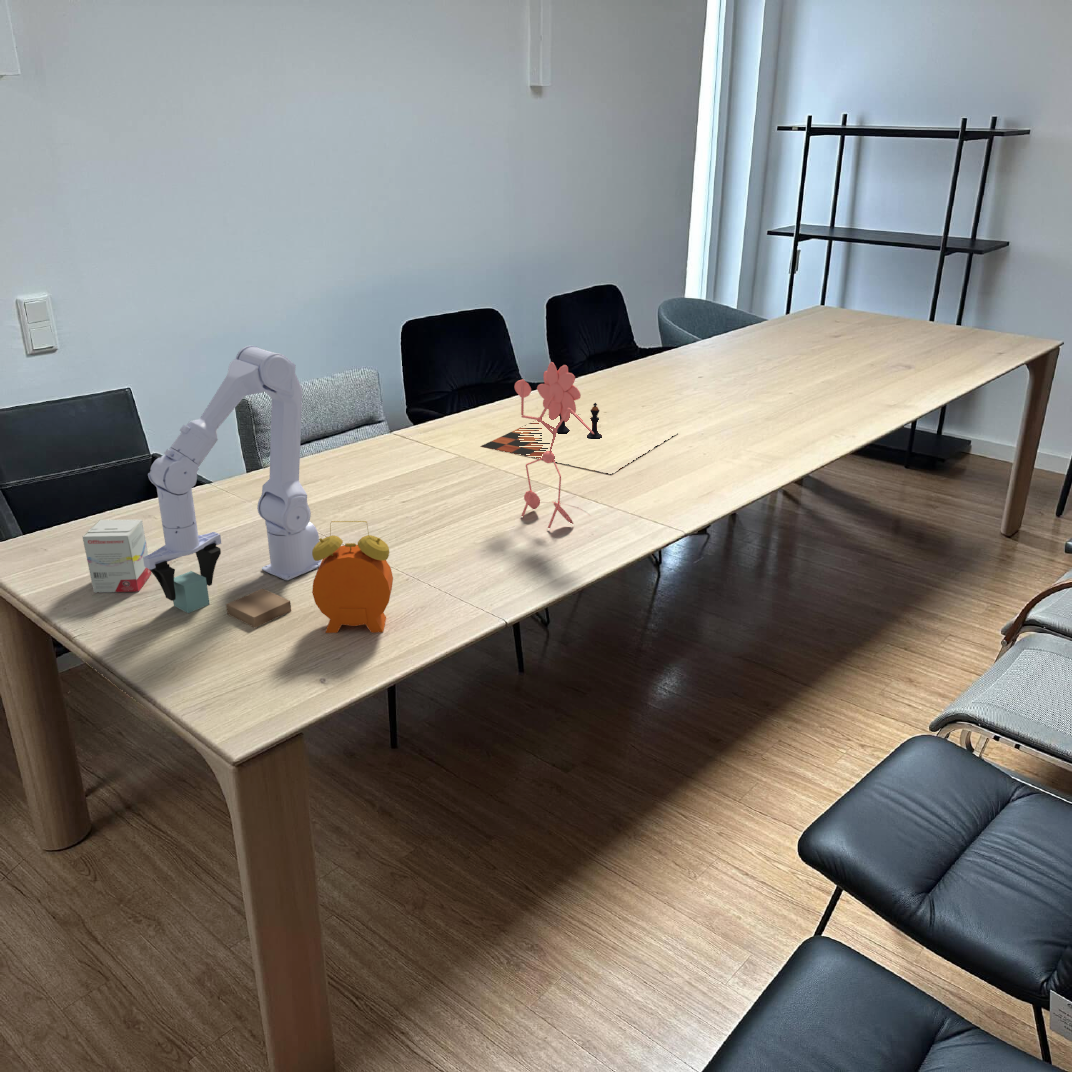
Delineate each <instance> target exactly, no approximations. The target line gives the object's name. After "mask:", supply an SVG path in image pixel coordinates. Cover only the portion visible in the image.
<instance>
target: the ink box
mask: <svg viewBox="0 0 1072 1072" xmlns="http://www.w3.org/2000/svg"><path fill="white" fill-rule="evenodd" d="M82 543H83V545H84V546H83V547H84V551H85V556H86V561H87V565H88V571H89V575H90V580H91V586H92V590H93V593H95V594H97V592H99V593H129V592H131V593H132V592H134V593H135V592H137V593H139V591H140V590H142V588H143V587H144V585H145V584H146V583H147V581H148V580H149V579H150V576H151V575H152V572H151V571H150V570H149V569H148V568H146V567H144V561H143V557H144V556H147V555H149V552H148V545H147V540H146V534H145V528H144V523H143V519H99V520H98V521H96V522H95V523H94V524H92V526H91V527H90V529H89V530H87V531H86V532H85V533H84V534H83V535H82ZM147 579H148V580H147Z"/></svg>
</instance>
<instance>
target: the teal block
mask: <svg viewBox="0 0 1072 1072" xmlns="http://www.w3.org/2000/svg"><path fill="white" fill-rule="evenodd" d="M174 588H175V594H176V599H175V600H173V601H172V602H173V606H174V607H176V608H178V609H179V610H181V611H183V612H185V613H187V614H190V613H192V612H194V611H197V610H200V609H202V608H204V607H206V606H209V605H210V598H209V591H208V585H207V582H206V578H205V577H203V576H201V574H200V573H197V572H195V571H192V570H190V571H187V572H185V573H182V574H180V575H177V576H174Z"/></svg>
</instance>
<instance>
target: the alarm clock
mask: <svg viewBox="0 0 1072 1072" xmlns="http://www.w3.org/2000/svg"><path fill="white" fill-rule="evenodd" d="M329 523H330V524H329V530H330V531H329V536H327V537H324V538H322V537H319V542H318V543H317V544H316V545H315V547H314V548H313V550H312V556H313V558H314V560H315V561H319V560H321V564H320V566H319V567H318V569H317V571H316V573H315V575H314V579H313V581H312V596H313V600H314V603H315V605H316V606H317V608H318V609H319V611H320V613H322V614H323V615H324V616H325V617H326V618H328V619H329V621H328V624H327V628H326V630H325V634H334V633H335V634H336V633H337V634H338V632H339V630H340V629H341V627H342V625H343V626H353V627H355V626H356V627H357V626H364V625H365V626H366V628H367V629H368V630H369V631H370V633H372V634H373V633H384V630H385V626H386V621H387V616H386V614H385V613H384V612H385V610H386V608H387V607H388V605H389V602H390V598H391V594H392V589H393V580H394V577H393V572H392V567H391V566H390V564H389V562H388V561H387V560H388V558H389V557H390V548H389V545H388V544H387V543H386V541H385V540H383V539H382V538H381V537H377V536H375V535H371V534H369V533H370V532H369V531H367V535H364V536H362V537H361V538H360V539H359V540H358V541H357V543H356V542H355V543H354V542H353V543H351V542H350V543H349V542H348V543H344V540H343V539H342V538H340V537H339V536H338V535H331V532H332V528H331V526H332V525H331V524H332V523H366V526H367V528H366V529H367V530H369V528H368V527H369V525H368V522H367V521H366V520H344V521H343V520H341V521H340V520H337V521H336V520H333V521H330V522H329ZM343 543H344V545H342V544H343Z"/></svg>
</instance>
